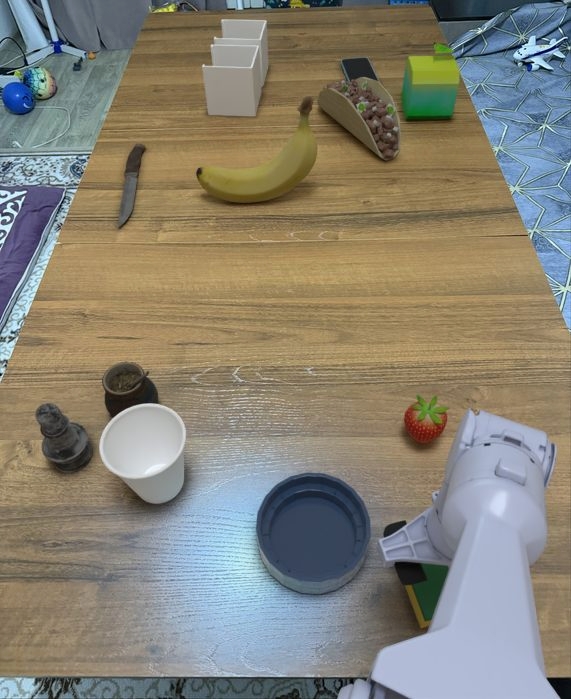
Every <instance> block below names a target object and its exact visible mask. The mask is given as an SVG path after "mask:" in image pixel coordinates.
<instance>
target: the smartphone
mask: <svg viewBox="0 0 571 699" xmlns="http://www.w3.org/2000/svg"><path fill="white" fill-rule="evenodd" d="M340 66H341V68H342V71H343V73H344V76H345V77H346V81H348V82H351V80H352V79H354V80H356V79H358V78H360V77H366V78H369V79H372V80H376V81H378V82H380V80H379V77H378V75H377V73H376V72H375V69H374V68H373V65H372V63H371V61H370V59H369V58H368V57H366V56H365V57H363V56H362V57H352V58H351V57H350V58H349V57H348V58H342V59H341V60H340Z"/></svg>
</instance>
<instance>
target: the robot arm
mask: <svg viewBox="0 0 571 699" xmlns="http://www.w3.org/2000/svg"><path fill="white" fill-rule="evenodd" d="M557 454H558V446H557V443H556V442H551V440H550V439H548V433H547V432H545V431H543V430H540V429H537V428H535V427H531V426H529V425H526V424H523V423H520V422H517V421H514V420H512V419H508V418H506V417H502V416H499V415H496V414H493V413H491V412H488V411H485V410H482V409H479V410H478V411H477V413H476V414H475V413H474V411H473V410H472V407H468V408H467V410H466V411H465V412H464V415H463V416H462V417H461V419H460V422H459V424H458V426H457V429H456V431H455V435H454V437H453V440H452V443H451V446H450V449H449V452H448V455H447V459H446V461H445V466H444V475H443V476H444V477H443V481H442V483H441V486H440V488H439V489H438V490H435V491H433V492H432V494H431V496H430V499H431V502H432V505H431V506H430V507H428V508H427V509H426V510H424V511H422V512H421V513H420V514H419V515H416V517H415V518H413V519H412V520H410V521H409V522H408V523H407V520H406V519H404V520H400V521H396V522H392V523H389V524H386V526H385V527H384V529H383V533H382V534H383V538H380V539H378V540H377V545H376V550H377V552H378V556H379V558H380V562H381V564H382V567H383V568H384V569H387V568H390V567H393V566H394V569H395V572H396V575H397V578H398V579H399V581H400V583H401V584H402V586H405V585H413V584H417V583H420V582H424V581H427V577H426V575H425V572H424V570H423V567H422V565H421V563H425V564H436V565H446V566H448V568H449V570H448V573H447V576H446V579H445V582H444V585H443V588H442V591H441V594H440V597H439V600H438V602H437V605H436V608H435V611H434V614H433V617H432V620H431V623H430V626H428V628H427V632H426V633H424V634H420V635H418V636H414V637H410V638H408V639H405V640H402V641H399V642H396V643H393V644H390V645H387V646H384V647H382V648H381V649H380V650H378V652H377V654H376V655H375V658H374V659H373V662H372V664H371V668H370V669H369V673H368V675H367V678H366V681H365V680H364V679H362V678H357V679H355V681H354V682H353V683H349V684H347V685H345V686H342V687H341V688H340V689H339V692H338V695H337V698H336V699H561V697H560V696H559V695H558V693H557V691H556V690H555V689H554V687H553V686H552V685H551V683H550V682H549V680H548V678H547V672H546V666H545V659H544V654H543V653H544V652H543V647H542V640H541V633H540V627H539V620H538V615H537V614H538V613H537V608H536V602H535V601H536V600H535V596H534V590H533V589H534V588H533V582H532V577H531V570H530V567H531V566H533V565H534V564H535V563H536V562H537V561H538V559H539V558H541V556H542V554H543V552H544V551H545V549H546V546H547V542H548V518H547V506H546V492H547V490H548V487H549V485H550V483H551V480H552V476H553V474H554V471H555V470H554V469H555V465H556V462H557Z"/></svg>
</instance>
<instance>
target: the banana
mask: <svg viewBox="0 0 571 699" xmlns="http://www.w3.org/2000/svg"><path fill="white" fill-rule="evenodd" d="M314 101H315V98H314V96H310V95H309V96H303V98H302V102H300V104H299V105H298V106H297V107H296V110H297V112H299V115H300V117H299V119H300V120H299V123H298V126H297V128H296V130H295V131H294V132H293V133H292V135H291V136H290V138H289V140H287V142H286V144H285V146H283V148H282V149H281V151H279V153H277V155H275V156H274V157H273V158H272V159H270V160H269V161H267V162H265V163H263V164H261V165H258V166H253V167H249V168H226V167H221V166H200V167H198V168H197V169H196V170H195V175H196V179H197V181H198V184H199V185H200V186H201V187H202V189H203V190H204V191H205V192H207V193H208V194H209V195H211V196H213V197H215V198H217V199H220V200H222V201H227V202H233V203H241V204H247V203H259V202H266V201H270V200H273V199H275V198H278V197H280V196H282V195H285V194H286V193H288V192H289V191H291V190H292V189H294V188H295V187H296V186H298V185H299V184H300V183H301V182H302V181H304V179H306V178H307V176H309V174H310V173H311V171H312V169H313V167H314V165H315V164H316V160H317V156H318V141H317V137H316V135H315V133H314V131H313V130H312V128H311V125H310V121H309V117H310V116H309V115H310V113H311V112H312V110H314V109H313V104H314Z"/></svg>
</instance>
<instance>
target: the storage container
mask: <svg viewBox="0 0 571 699" xmlns="http://www.w3.org/2000/svg"><path fill="white" fill-rule="evenodd" d="M220 25H221V33H222V34H221V35H222V37H217V36H214V37H213V44H211V45H210V54H211V62H212V63H211V64H212V65H206V64H205V63H203V64H202V66H201V69H202V76H203V85H204V93H205V99H206V107H207V115H208V116H229V117H256V116H257V112H258V108H259V104H260V101H261V97H262V88H263V87H264V86H265V81H266V77H267V74H268V70H269V66H270V65H269V46H268V44H269V42H268V21H267V20H266V19H229V18H228V19H225V18H224V19H223V18H222V19H221V21H220Z"/></svg>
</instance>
